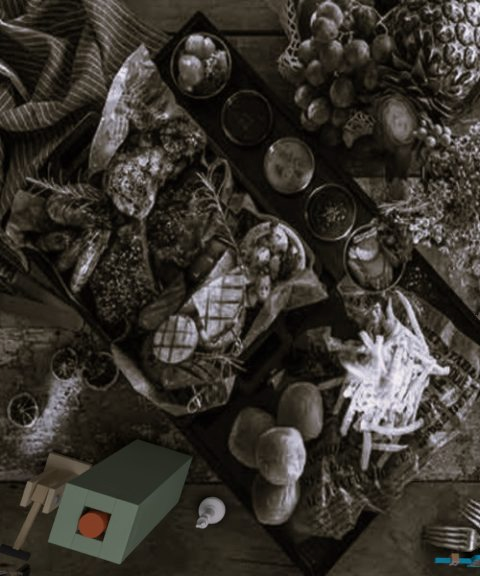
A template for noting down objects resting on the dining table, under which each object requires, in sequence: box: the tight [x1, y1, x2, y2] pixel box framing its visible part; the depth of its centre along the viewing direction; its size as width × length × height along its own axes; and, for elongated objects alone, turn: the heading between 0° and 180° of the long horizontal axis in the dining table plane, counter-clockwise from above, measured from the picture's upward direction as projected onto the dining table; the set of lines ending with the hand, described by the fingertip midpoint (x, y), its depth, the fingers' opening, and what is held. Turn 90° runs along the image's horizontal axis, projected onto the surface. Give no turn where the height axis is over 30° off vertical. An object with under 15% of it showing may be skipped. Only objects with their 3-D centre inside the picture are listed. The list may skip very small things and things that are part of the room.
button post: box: [47, 438, 194, 565], centre depth 127 cm, size 11×9×33 cm
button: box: [79, 508, 110, 538], centre depth 111 cm, size 4×4×3 cm
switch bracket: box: [19, 451, 93, 515], centre depth 138 cm, size 9×8×12 cm
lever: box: [0, 484, 50, 562], centre depth 132 cm, size 12×5×2 cm, turn 162°
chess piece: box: [195, 496, 226, 529], centre depth 139 cm, size 5×5×10 cm
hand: (1, 561), depth 125 cm, fingers open, 8 cm apart
